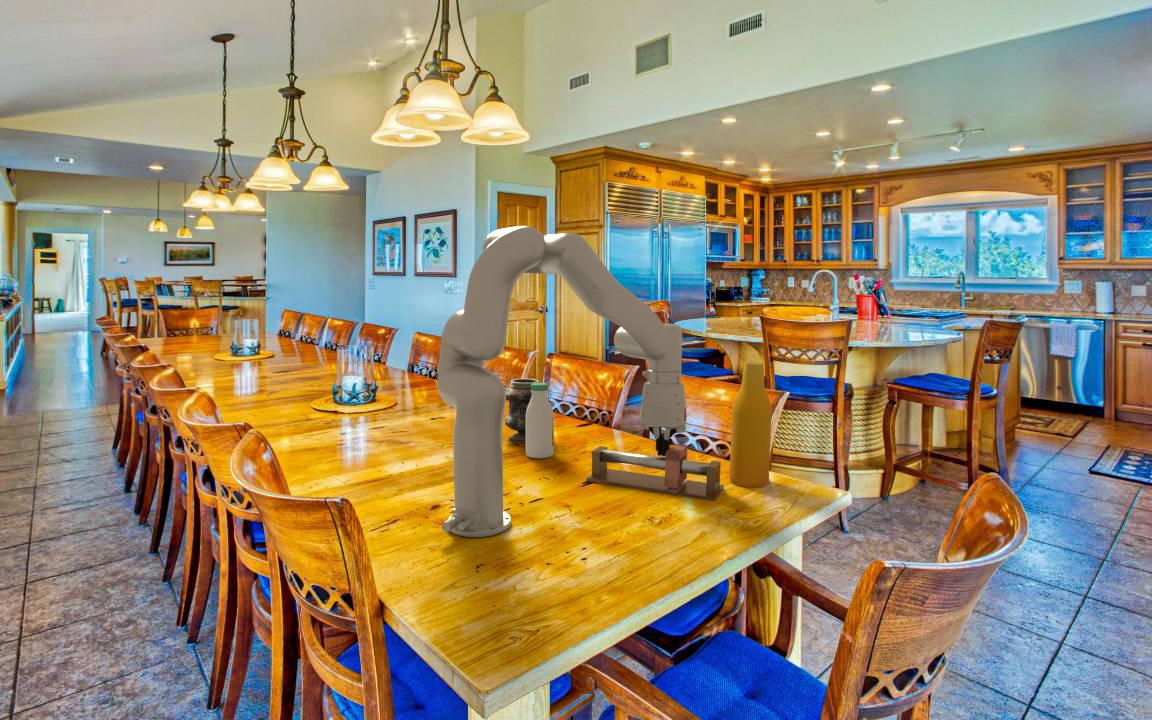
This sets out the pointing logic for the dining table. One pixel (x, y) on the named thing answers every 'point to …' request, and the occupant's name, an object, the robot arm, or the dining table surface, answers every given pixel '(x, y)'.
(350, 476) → the dining table surface
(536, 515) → the dining table surface
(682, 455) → the collar
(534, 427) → the milk bottle
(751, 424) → the beer bottle
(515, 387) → the apothecary jar
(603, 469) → the pipe rig
